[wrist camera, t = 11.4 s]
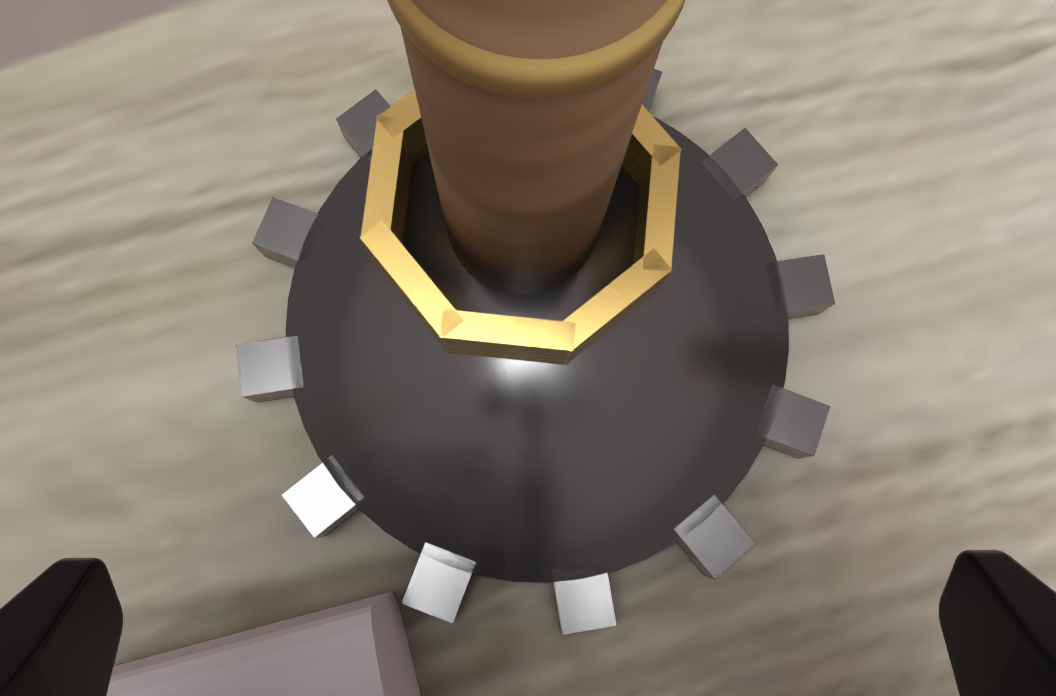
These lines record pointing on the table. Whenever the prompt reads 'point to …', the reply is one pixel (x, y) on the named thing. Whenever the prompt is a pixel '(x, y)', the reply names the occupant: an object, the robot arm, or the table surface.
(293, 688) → the charger
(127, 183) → the table surface
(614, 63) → the peg
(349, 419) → the sprocket
